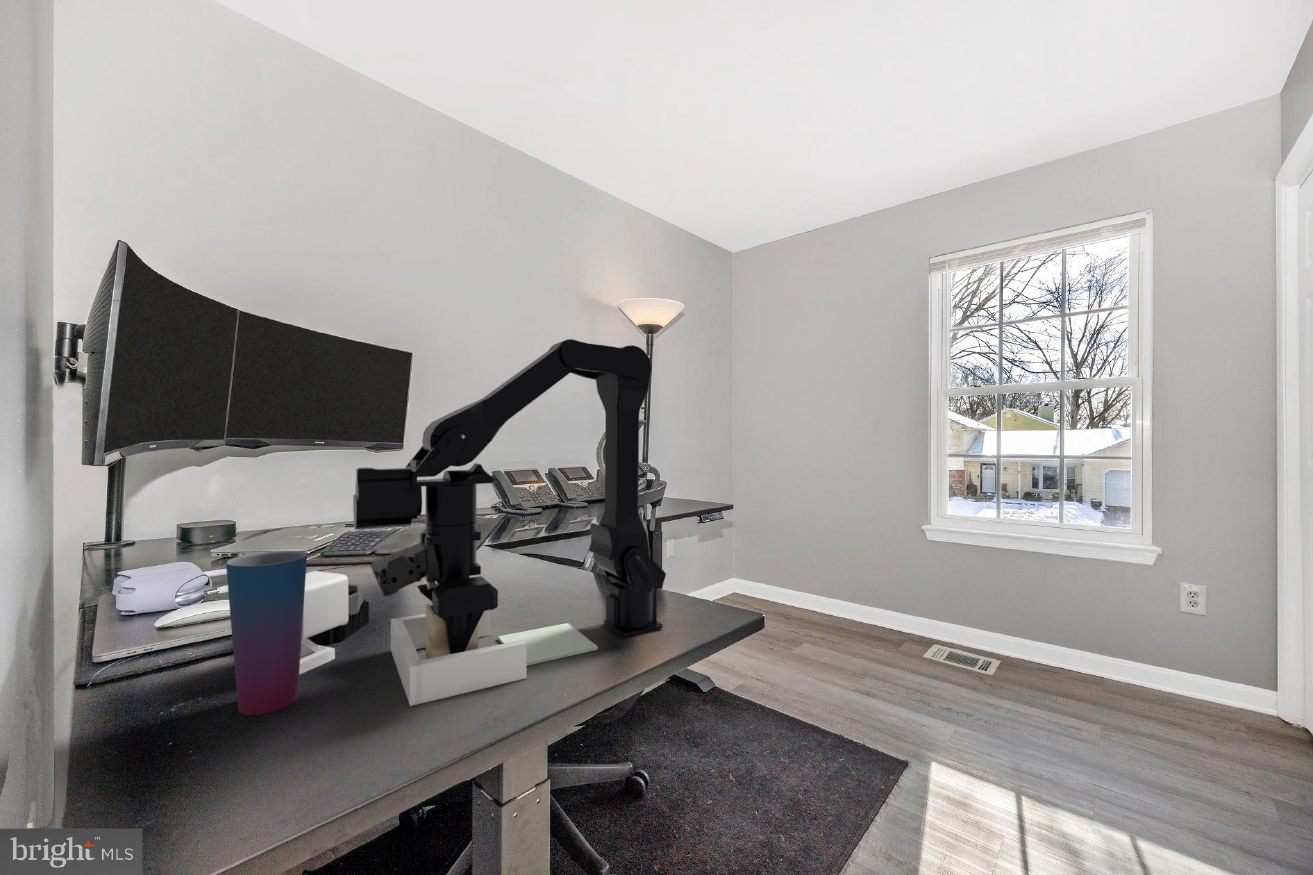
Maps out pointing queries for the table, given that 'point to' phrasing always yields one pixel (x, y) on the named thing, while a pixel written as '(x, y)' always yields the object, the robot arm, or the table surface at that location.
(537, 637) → the sage mat
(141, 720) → the table surface
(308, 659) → the security camera
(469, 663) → the cubby
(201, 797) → the table surface
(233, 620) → the cup
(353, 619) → the black and grey container
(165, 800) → the table surface
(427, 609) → the maple block
